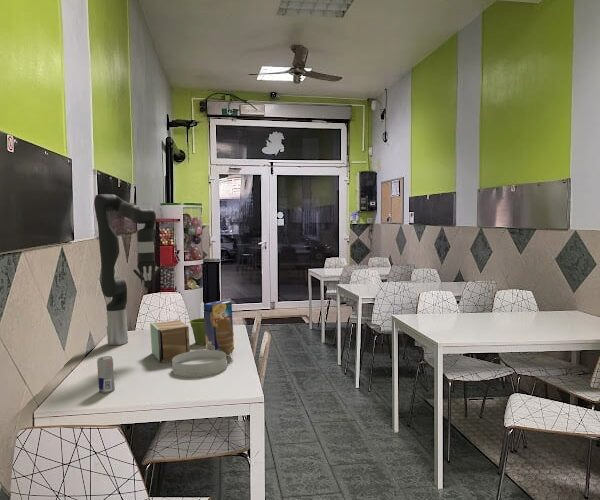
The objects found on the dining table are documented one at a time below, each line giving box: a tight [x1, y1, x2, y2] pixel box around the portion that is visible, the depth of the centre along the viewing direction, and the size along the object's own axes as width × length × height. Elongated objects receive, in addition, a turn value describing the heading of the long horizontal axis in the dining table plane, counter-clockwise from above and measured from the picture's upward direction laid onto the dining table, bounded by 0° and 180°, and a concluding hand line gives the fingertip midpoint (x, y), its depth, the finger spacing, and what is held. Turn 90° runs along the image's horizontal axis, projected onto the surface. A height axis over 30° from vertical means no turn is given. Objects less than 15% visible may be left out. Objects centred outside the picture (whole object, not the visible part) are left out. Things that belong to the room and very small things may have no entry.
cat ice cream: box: [216, 315, 234, 357], centre depth 224 cm, size 9×8×18 cm
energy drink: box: [96, 355, 116, 394], centre depth 184 cm, size 5×5×12 cm
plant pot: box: [188, 317, 206, 345], centre depth 252 cm, size 12×12×11 cm
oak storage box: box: [153, 319, 191, 363], centre depth 229 cm, size 18×12×14 cm, turn 26°
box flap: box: [149, 322, 163, 363], centre depth 226 cm, size 19×1×14 cm, turn 26°
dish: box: [171, 349, 228, 378], centre depth 208 cm, size 22×22×5 cm
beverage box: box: [203, 300, 235, 351], centre depth 235 cm, size 7×11×22 cm, turn 138°
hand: (147, 288), depth 238 cm, fingers closed
